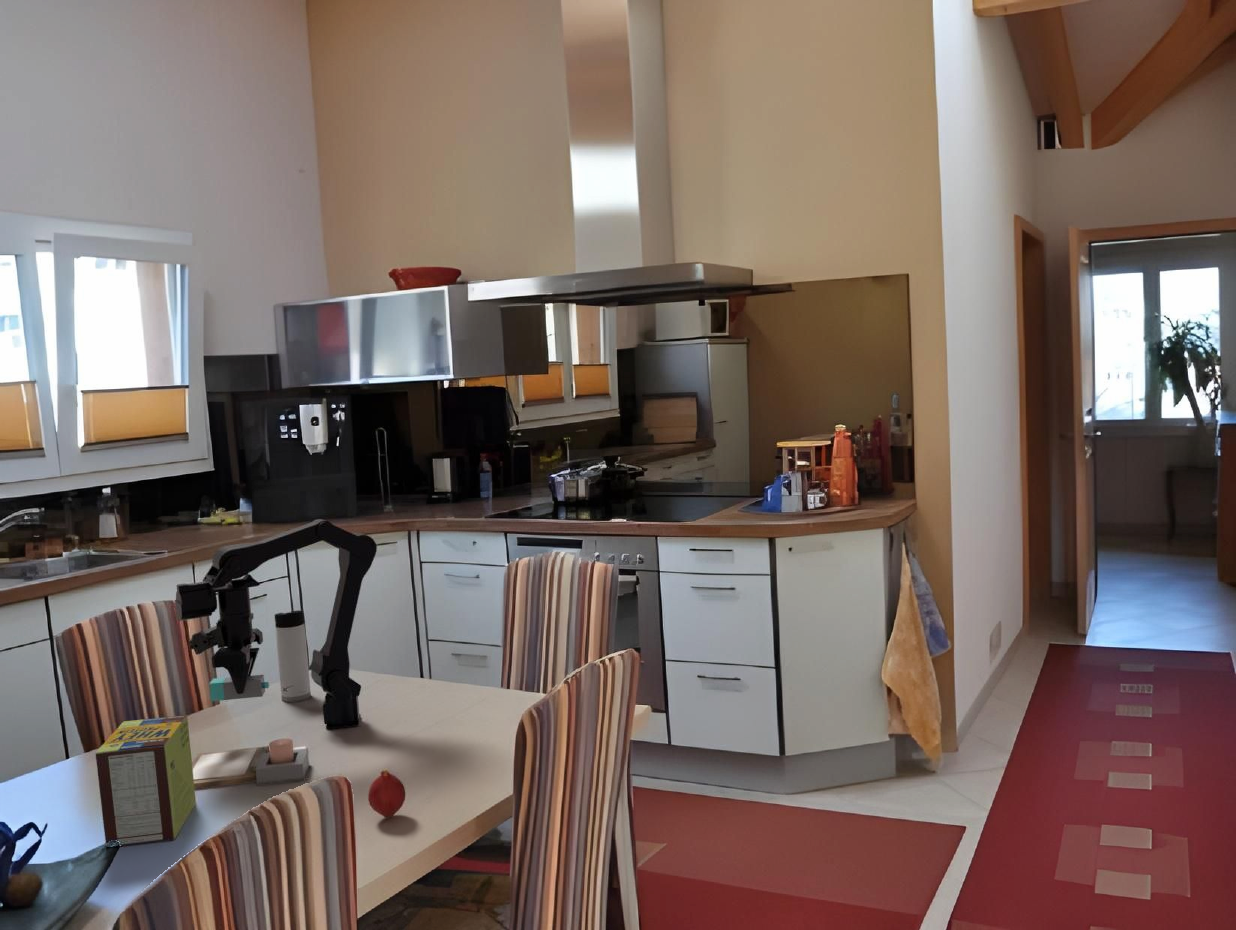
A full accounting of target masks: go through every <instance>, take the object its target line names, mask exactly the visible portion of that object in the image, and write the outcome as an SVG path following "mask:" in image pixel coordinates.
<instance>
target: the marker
mask: <svg viewBox="0 0 1236 930" xmlns="http://www.w3.org/2000/svg"><path fill="white" fill-rule="evenodd" d="M269 688H270V683H269V681H265V675H264V674H253V675H251V676H248V678H247V681H246V685H245V689H244V692H243V693H242V694H237V692H236V689H235V687H234V684H233V682H232V679H231V677H226V676H225V677H216V678H212V679H211V681H210V682H209V694H210V695H209V697H210V702H218V701H220V702H221V701H230V700H231V701H232V700H241V699H250V698H261V697H263V696H264V694H265V693H266V689H269Z"/></svg>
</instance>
